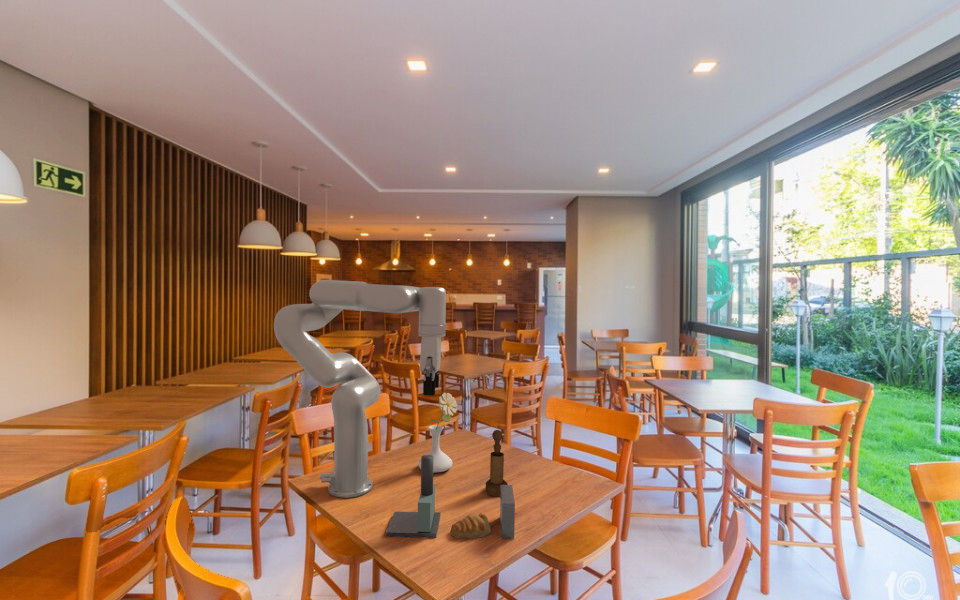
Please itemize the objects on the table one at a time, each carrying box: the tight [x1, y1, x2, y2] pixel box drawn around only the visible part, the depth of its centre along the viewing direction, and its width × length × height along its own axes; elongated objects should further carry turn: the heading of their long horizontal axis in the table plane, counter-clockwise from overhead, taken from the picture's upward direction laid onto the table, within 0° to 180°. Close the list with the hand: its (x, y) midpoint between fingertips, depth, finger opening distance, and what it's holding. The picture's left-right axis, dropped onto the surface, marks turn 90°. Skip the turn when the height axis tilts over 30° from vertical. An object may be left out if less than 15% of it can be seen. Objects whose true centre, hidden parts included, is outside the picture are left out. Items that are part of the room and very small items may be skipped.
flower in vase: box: [417, 392, 458, 473], centre depth 145 cm, size 13×11×25 cm
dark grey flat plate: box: [385, 511, 441, 539], centre depth 109 cm, size 12×10×1 cm
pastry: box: [450, 512, 492, 540], centre depth 107 cm, size 9×7×4 cm
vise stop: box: [499, 484, 516, 540], centre depth 109 cm, size 3×10×8 cm, turn 179°
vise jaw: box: [417, 454, 436, 532], centre depth 109 cm, size 3×10×16 cm, turn 179°
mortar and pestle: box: [484, 429, 509, 497], centre depth 129 cm, size 7×6×18 cm
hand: (431, 391), depth 123 cm, fingers open, 9 cm apart
